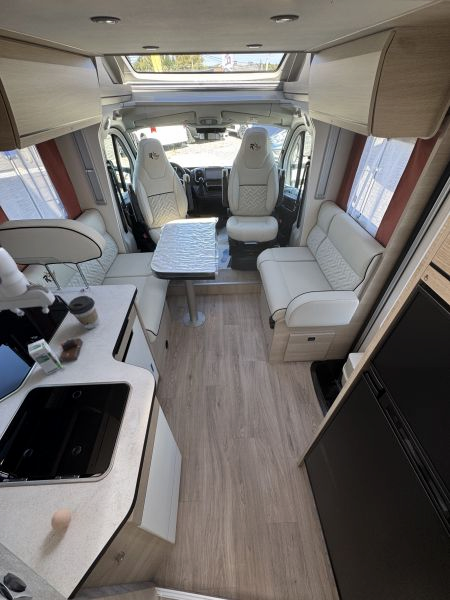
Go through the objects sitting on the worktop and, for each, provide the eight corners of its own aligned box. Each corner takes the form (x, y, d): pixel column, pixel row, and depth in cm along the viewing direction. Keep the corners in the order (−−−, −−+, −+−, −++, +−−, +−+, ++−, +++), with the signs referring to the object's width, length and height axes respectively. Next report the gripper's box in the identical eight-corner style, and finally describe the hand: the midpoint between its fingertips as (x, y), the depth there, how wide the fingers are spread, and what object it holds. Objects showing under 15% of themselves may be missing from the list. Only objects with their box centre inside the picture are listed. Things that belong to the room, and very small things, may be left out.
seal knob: (75, 343, 114) (72, 338, 112) (76, 345, 113) (73, 340, 111) (63, 349, 112) (60, 344, 110) (64, 351, 111) (61, 346, 109)
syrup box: (47, 375, 106) (28, 354, 96) (45, 365, 110) (27, 344, 100) (62, 368, 108) (45, 347, 99) (59, 359, 112) (43, 337, 102)
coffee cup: (75, 332, 124) (61, 310, 114) (86, 315, 132) (74, 293, 122) (97, 332, 123) (85, 310, 113) (107, 316, 131) (96, 294, 121)
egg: (66, 533, 69) (56, 531, 65) (53, 527, 70) (42, 524, 66) (77, 513, 72) (69, 509, 68) (64, 508, 73) (55, 504, 69)
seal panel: (81, 359, 112) (78, 354, 109) (59, 362, 111) (55, 358, 109) (86, 341, 119) (83, 337, 117) (66, 344, 118) (62, 340, 116)
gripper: (47, 278, 95) (64, 305, 104) (-10, 283, 93) (12, 310, 102) (40, 288, 90) (58, 316, 99) (-21, 294, 89) (3, 321, 98)
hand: (34, 313), depth 101 cm, fingers open, 8 cm apart
